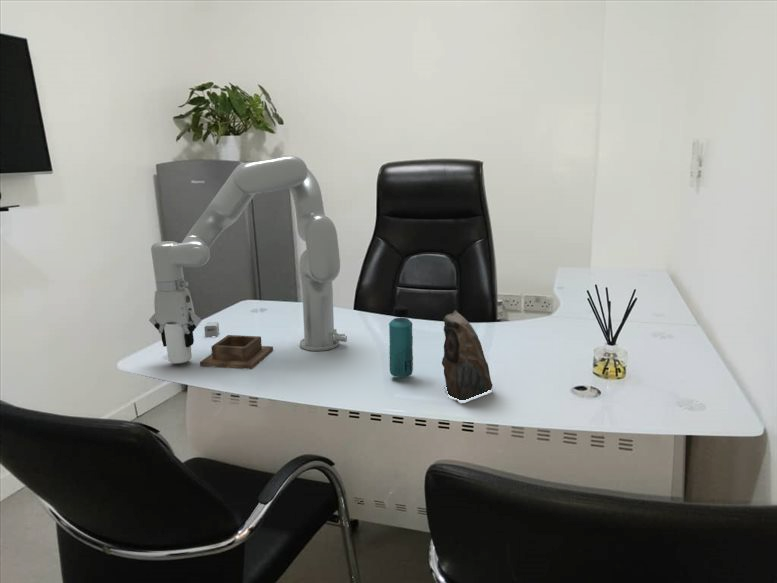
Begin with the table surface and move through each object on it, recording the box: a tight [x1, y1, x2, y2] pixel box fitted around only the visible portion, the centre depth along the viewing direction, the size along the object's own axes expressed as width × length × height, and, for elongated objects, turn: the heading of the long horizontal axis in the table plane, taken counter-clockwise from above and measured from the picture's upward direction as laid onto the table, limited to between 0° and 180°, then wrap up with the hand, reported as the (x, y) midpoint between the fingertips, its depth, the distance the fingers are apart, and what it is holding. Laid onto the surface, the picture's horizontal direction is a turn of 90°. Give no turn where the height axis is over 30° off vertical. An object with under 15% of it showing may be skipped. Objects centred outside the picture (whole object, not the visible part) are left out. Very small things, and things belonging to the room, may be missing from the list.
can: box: [164, 323, 193, 365], centre depth 157 cm, size 6×6×12 cm
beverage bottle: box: [388, 305, 414, 378], centre depth 145 cm, size 6×7×20 cm
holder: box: [199, 334, 274, 370], centre depth 163 cm, size 16×16×5 cm
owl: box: [441, 310, 493, 400], centre depth 136 cm, size 13×13×20 cm
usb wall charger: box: [203, 321, 220, 338], centre depth 186 cm, size 4×7×4 cm, turn 9°
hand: (178, 344), depth 158 cm, fingers closed on can, 6 cm apart
